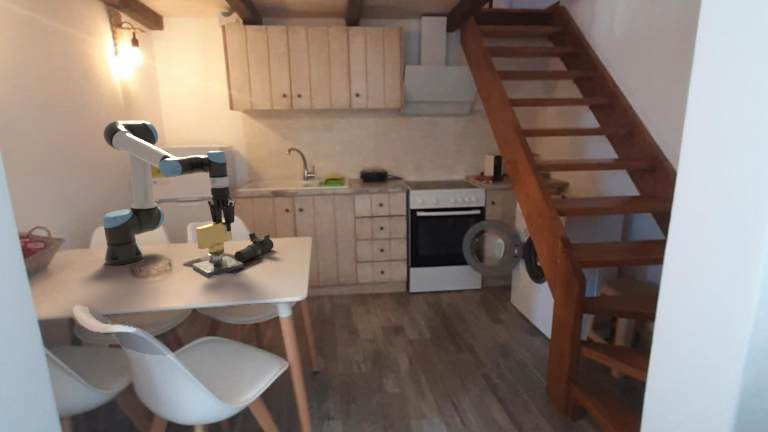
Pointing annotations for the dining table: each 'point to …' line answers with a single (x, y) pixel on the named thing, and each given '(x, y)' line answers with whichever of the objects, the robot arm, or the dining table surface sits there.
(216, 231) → the lever handle
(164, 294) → the dining table surface
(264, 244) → the laser sight
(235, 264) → the post base
